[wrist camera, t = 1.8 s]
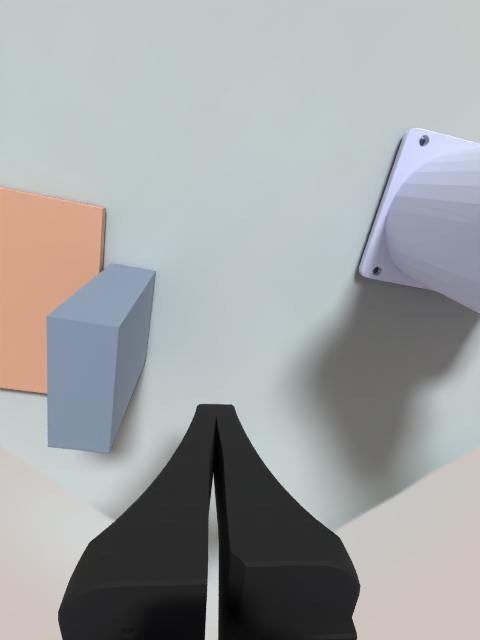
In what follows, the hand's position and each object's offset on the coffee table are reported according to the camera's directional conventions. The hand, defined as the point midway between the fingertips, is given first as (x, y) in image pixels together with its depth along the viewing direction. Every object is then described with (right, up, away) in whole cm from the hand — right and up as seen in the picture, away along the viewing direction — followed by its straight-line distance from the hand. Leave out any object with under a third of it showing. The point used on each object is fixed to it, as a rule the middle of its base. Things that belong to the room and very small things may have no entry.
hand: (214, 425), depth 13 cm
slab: (-6, +4, +8) cm, 10 cm away
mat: (-11, +5, +7) cm, 14 cm away
